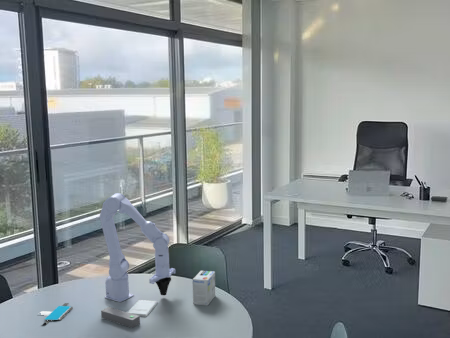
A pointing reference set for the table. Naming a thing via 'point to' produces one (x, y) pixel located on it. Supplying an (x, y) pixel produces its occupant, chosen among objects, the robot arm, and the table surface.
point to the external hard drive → (143, 307)
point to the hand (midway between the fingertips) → (163, 294)
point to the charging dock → (120, 317)
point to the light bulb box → (204, 287)
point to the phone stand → (56, 313)
